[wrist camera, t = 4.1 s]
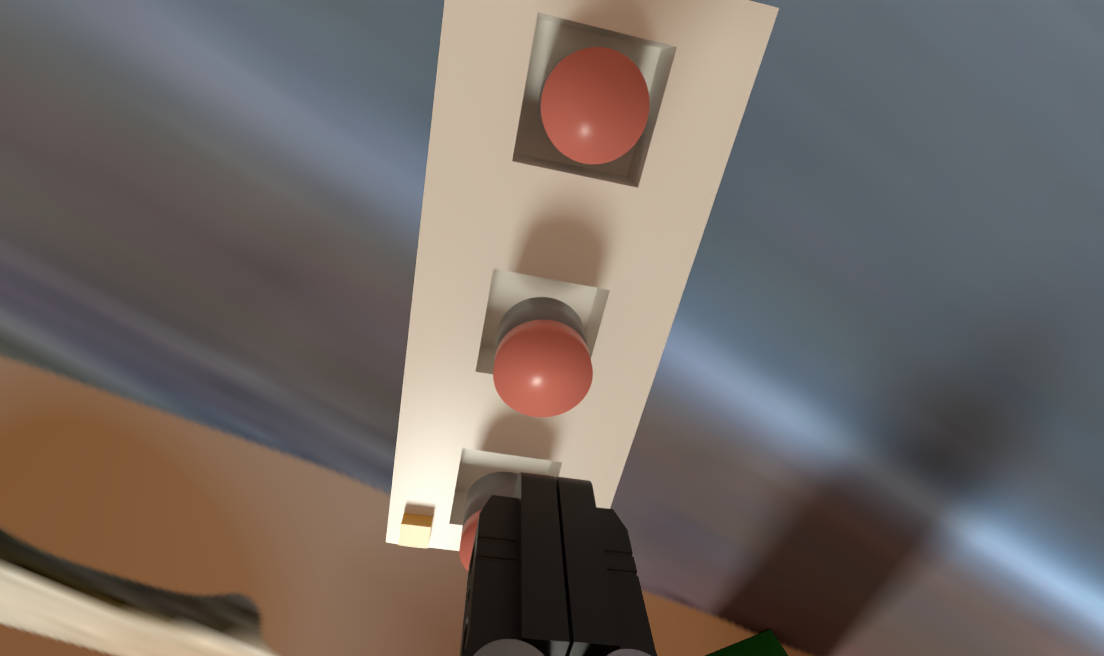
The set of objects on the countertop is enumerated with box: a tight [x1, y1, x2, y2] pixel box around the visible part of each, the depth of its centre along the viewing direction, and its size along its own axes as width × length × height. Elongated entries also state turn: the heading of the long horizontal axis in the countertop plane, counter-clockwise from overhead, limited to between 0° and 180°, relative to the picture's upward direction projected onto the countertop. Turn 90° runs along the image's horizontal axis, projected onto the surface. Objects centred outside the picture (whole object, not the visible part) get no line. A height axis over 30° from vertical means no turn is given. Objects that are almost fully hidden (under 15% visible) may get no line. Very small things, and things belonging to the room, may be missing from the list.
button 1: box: [539, 47, 650, 164], centre depth 16 cm, size 3×3×3 cm
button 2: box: [493, 297, 593, 417], centre depth 17 cm, size 3×3×3 cm
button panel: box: [386, 0, 779, 551], centre depth 19 cm, size 9×26×5 cm, turn 168°
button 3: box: [459, 472, 518, 571], centre depth 20 cm, size 3×3×3 cm
